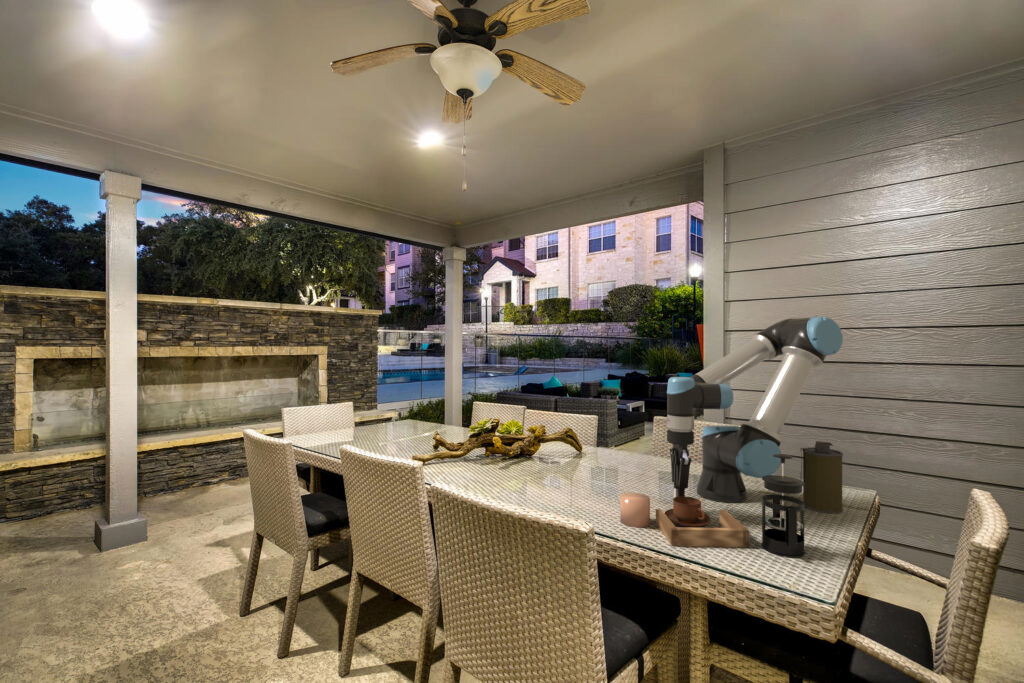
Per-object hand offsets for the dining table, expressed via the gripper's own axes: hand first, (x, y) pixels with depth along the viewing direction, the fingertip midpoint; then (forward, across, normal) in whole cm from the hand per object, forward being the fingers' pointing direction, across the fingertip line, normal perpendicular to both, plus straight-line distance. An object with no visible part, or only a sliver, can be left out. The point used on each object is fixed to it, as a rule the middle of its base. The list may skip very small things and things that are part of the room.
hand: (679, 509), depth 140 cm
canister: (+1, -8, +45) cm, 46 cm away
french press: (+1, +24, +18) cm, 30 cm away
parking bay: (+1, +15, +1) cm, 15 cm away
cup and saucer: (+2, +7, 0) cm, 7 cm away
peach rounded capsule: (+1, +7, -14) cm, 16 cm away
